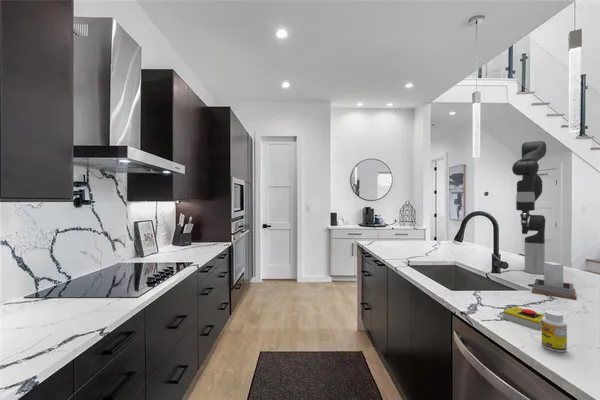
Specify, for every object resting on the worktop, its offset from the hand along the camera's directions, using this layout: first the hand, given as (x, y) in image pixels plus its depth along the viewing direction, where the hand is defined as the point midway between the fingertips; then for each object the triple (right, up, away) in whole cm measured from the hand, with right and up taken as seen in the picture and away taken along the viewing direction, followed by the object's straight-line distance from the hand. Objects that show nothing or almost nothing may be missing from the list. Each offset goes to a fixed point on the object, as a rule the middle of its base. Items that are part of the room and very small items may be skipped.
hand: (525, 232), depth 153 cm
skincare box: (+2, -25, -14) cm, 28 cm away
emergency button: (-35, -27, -47) cm, 64 cm away
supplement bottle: (-41, -26, -66) cm, 82 cm away
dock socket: (+2, -26, -15) cm, 30 cm away
